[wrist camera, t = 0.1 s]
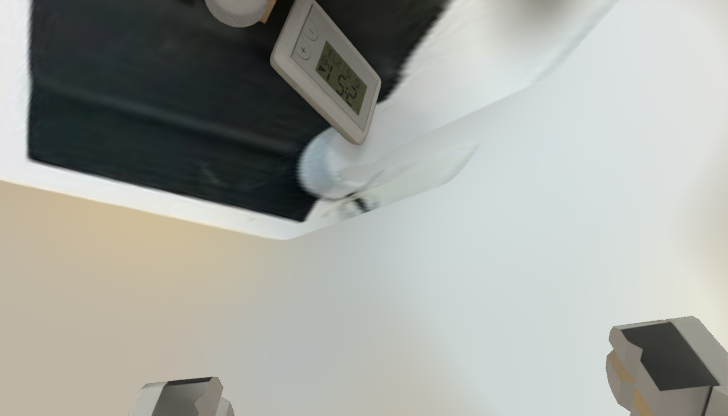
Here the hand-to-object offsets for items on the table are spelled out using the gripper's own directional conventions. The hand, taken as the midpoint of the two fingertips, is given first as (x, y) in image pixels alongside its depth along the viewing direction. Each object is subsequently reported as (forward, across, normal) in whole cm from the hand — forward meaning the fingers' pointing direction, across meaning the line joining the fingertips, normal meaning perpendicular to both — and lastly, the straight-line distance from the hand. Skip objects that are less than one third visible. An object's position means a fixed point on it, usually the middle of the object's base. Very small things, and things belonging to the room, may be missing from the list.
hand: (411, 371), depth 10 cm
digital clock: (+57, +5, +5) cm, 58 cm away
